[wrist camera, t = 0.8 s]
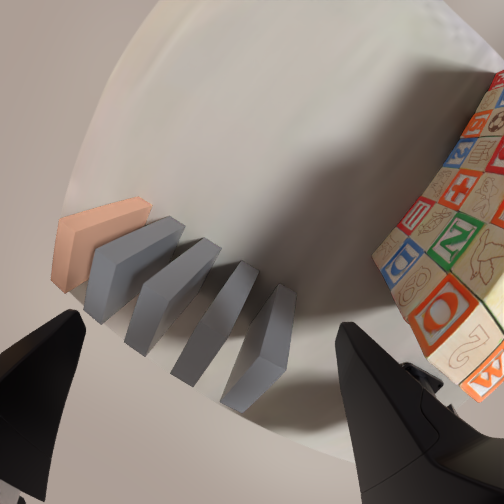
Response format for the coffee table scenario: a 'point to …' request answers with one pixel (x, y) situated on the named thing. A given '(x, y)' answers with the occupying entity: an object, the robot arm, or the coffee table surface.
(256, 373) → the domino
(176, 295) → the domino
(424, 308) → the stack of blocks
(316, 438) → the coffee table surface
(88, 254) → the domino
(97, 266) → the domino
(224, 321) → the domino
